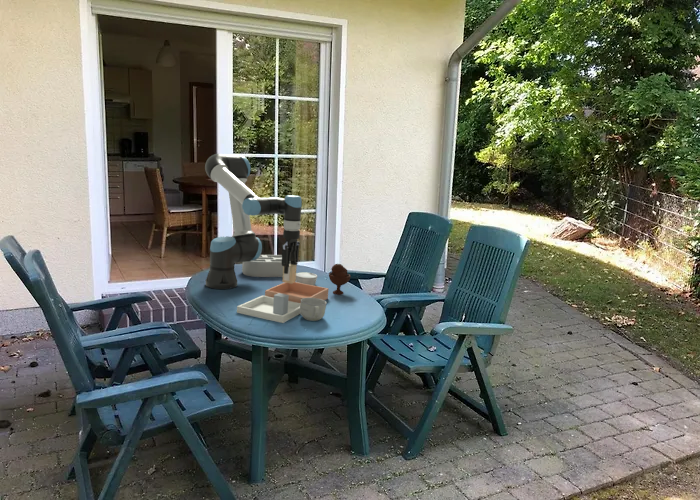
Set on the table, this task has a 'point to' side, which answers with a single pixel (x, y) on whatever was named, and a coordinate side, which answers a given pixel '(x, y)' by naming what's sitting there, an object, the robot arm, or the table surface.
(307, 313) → the teacup
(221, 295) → the table surface
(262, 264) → the grey compartment organizer
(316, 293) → the orange square tray
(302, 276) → the ramekin
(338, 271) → the ice cream bowl
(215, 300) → the table surface
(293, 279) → the tall cardboard carton
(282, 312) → the pale grey box block
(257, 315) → the parts tray
